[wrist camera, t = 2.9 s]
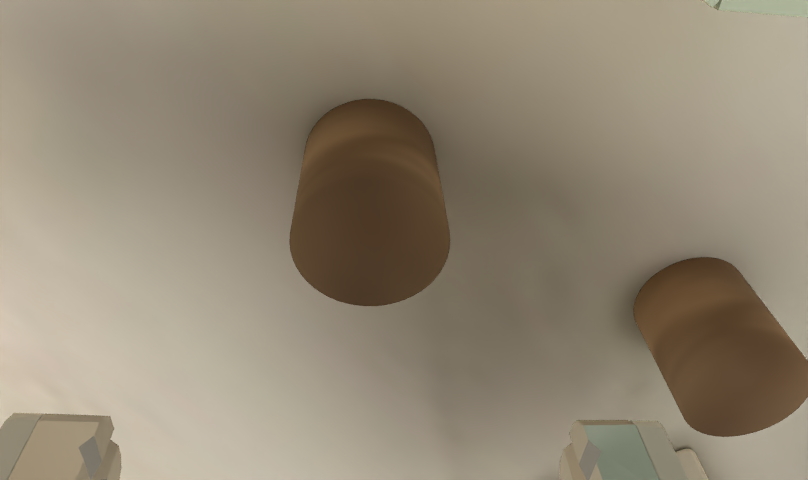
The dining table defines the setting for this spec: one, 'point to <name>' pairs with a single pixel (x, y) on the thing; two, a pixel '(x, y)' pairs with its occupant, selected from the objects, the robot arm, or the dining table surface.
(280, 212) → the dining table surface
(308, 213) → the loose bead
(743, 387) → the wooden cylinder
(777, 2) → the tray
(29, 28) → the dining table surface
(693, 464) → the medicine bottle
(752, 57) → the dining table surface
